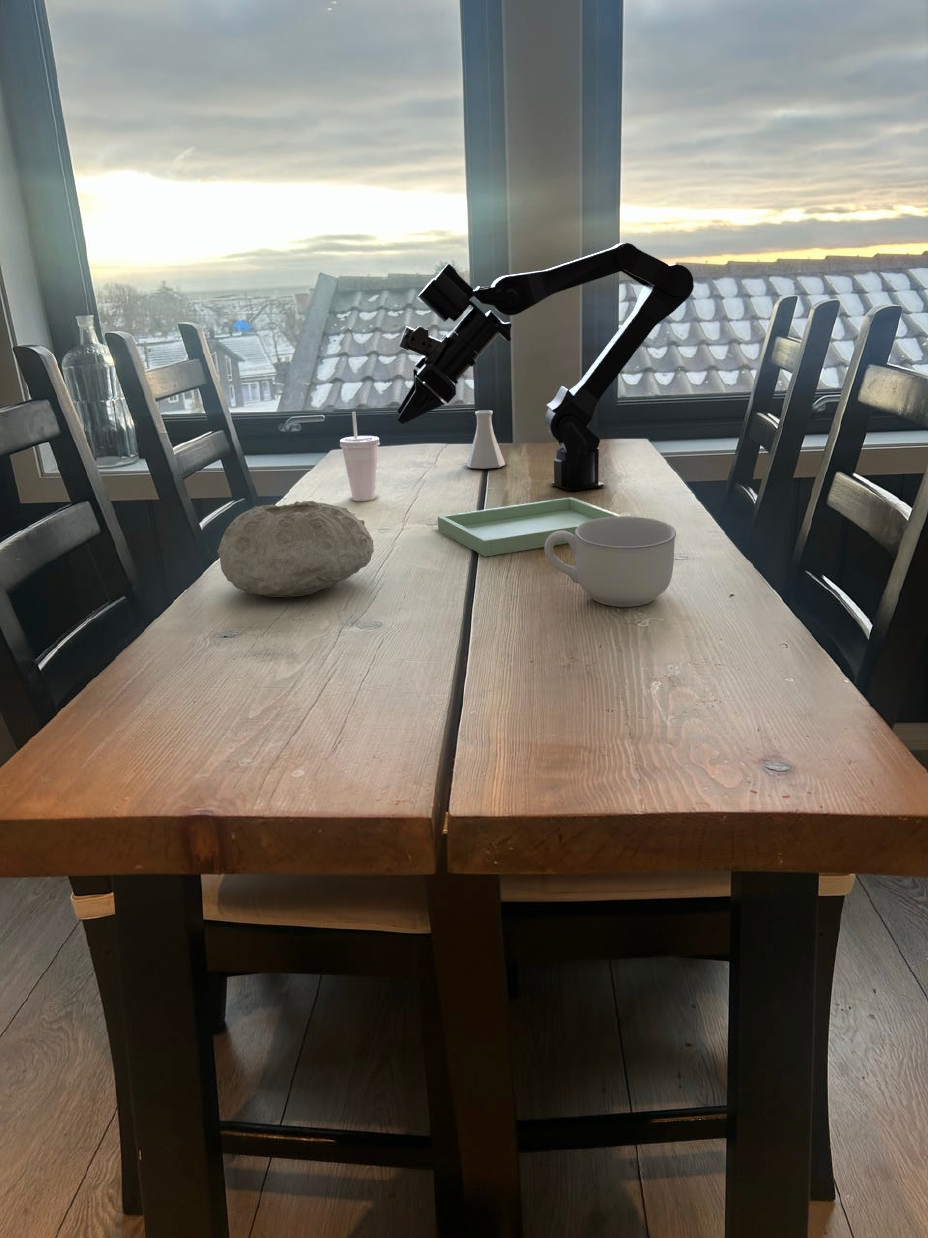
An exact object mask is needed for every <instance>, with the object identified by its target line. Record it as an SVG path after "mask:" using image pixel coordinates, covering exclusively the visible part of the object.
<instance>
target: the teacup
mask: <svg viewBox="0 0 928 1238" xmlns="http://www.w3.org/2000/svg"><path fill="white" fill-rule="evenodd" d="M676 537H677V530H676V528H675V527H674V526H672V525H671V524H669V523H666V522H664V521H661V520H658V519H654V518H650V517H649V518H648V517H640V516H631V515H622V516H617V517H604V518H598V519H593V520H590V521H586V522H584V523H582V524H580V525H579V526H578V527H577V528H576V530H575V535H573V534H572V533H570V532H567V531H556V532H554V533H552V534H551V535H550V536H549V537H548V538H547V540H546V542H545V546H544V547H543V549H544V555H545V558H546V559H547V561H548V563H550V564H551V566H552V567H554V568H555V569H556V570H558V571H559V572H561V573H563V574H565V575H566V576H568V577H569V579H570V580H571V581H572V582H573V583H575V584H579V586H580V587H581V588H582V590H583V591H584V592H585V593H586V594H588V595H589V596H590V597H591V598H592V599H593V600H594V601H595V602H597V603H600V604H602V605H604V606H609V607H614V608H615V607H616V608H634V607H640V606H644V605H645V606H646V605H648V604H649V603H651V602H652V601H654V600H655V599H656V598H657V597H659V596H660V595H662V594H663V593H664V592H665V591H666V590H667V589H668V587H669V586H670V584H671V582H672V577H673V572H674V560H675V542H676ZM559 540H564V541H566V542H568V543H567V544H568V545H569V546H570V549H571V552H572V553H571V554H572V555H574V556H575V566H572V565H569V564H567V563H565V562H563V561H562V560H561V559H560V558H558V556H556V554H555V551H554V547H555V545H554V544H555V542H557V541H559Z"/></svg>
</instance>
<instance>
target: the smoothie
mask: <svg viewBox="0 0 928 1238" xmlns="http://www.w3.org/2000/svg"><path fill="white" fill-rule="evenodd" d="M356 413H357V412H356V411H352V412H351V417H352V428H353V429H352V431H353V436H346V437H344V438H343V437H342V438H341V439H340V440H339V447H340V448H341V450H342V455H343V459H344V464H345V468H346V469H345V470H346V473H347V478H348V479H347V480H348V484H349V488H350V492H351V498H352V501H354V502H355V501H356V502H366V501H367V502H368V501H373V500H375V499H376V495H377V494H376V493H377V492H376V491H377V471H378V456H379V455H378V452H379V451H378V448H379V445H381V442H380V438H379V436H376V435H375V436H374V435H358V425H357V414H356Z"/></svg>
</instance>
